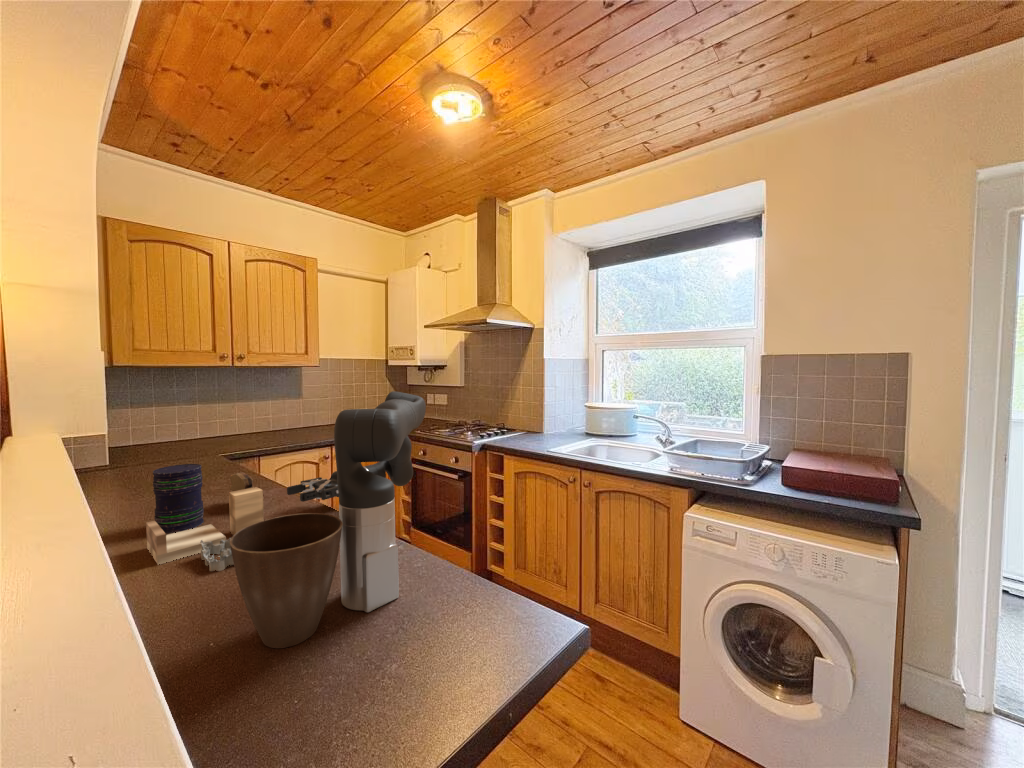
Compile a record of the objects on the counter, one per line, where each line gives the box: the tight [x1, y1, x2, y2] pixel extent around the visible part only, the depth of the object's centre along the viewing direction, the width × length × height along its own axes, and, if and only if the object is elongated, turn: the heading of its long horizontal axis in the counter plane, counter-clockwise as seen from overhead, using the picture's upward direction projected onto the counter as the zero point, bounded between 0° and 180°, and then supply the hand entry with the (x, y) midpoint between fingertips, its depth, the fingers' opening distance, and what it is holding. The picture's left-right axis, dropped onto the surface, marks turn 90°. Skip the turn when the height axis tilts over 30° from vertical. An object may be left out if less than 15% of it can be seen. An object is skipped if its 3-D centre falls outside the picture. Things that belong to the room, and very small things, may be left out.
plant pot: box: [230, 512, 342, 649], centre depth 63 cm, size 15×15×16 cm
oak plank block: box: [228, 486, 264, 536], centre depth 103 cm, size 4×6×10 cm
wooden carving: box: [228, 472, 254, 492], centre depth 121 cm, size 16×5×10 cm, turn 58°
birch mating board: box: [145, 519, 227, 566], centre depth 94 cm, size 12×12×6 cm
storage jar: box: [152, 463, 205, 534], centre depth 106 cm, size 10×10×15 cm
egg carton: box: [200, 537, 234, 572], centre depth 88 cm, size 11×8×4 cm
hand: (293, 494), depth 111 cm, fingers open, 8 cm apart
